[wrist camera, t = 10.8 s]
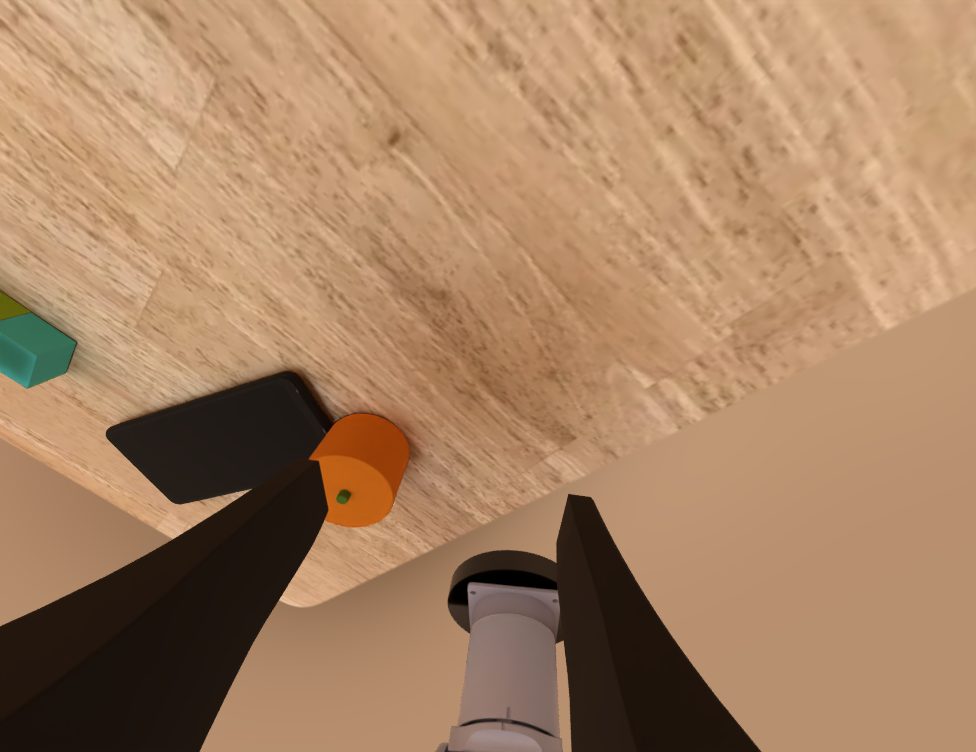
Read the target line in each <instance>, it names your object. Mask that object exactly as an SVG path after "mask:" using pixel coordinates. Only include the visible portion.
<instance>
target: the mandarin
mask: <svg viewBox="0 0 976 752" xmlns="http://www.w3.org/2000/svg"><path fill="white" fill-rule="evenodd" d="M409 455H410V451H409V445H408V442H407V440H406V438H405V436H404V435H403V433H402V432H401V431H400V430H399V429H398V428H397V427H396V426H395V425H394V424H392V423H391V422H389V421H388V420H386V419H384V418H381V417H379V416H375V415H370V414H354V415H349V416H346V417H344V418H342V419H340V420H339V421H337V422H336V423H335V424H334V425H333V426H332V428H331V429H330V430H329V432H328V433H327V435H326V436H325V437H324V439H323V440H322V441H321V443H320V444H319V445H318V447H317V448H316V450H315V451H314V452H313V454H312V455H311V456H310V458H309V459H310V460H317V461H319V464H320V469H321V474H322V479H323V484H324V489H325V494H326V499H327V504H328V509H329V511H328V513H327V515H326V518H325V520H326V521H328V522H330V523H333V524H336V525H340V526H345V527H365V526H369V525H372V524H375V523H377V522H379V521H381V520H382V519H383V518H385V517H386V516H387V515H388V513H389V512H390V510H391V508H392V506H393V503H394V500H395V497H396V495H397V492H398V489H399V486H400V483H401V480H402V477H403V475H404V472H405V469H406V466H407V463H408V460H409Z"/></svg>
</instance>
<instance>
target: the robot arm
mask: <svg viewBox="0 0 976 752" xmlns="http://www.w3.org/2000/svg"><path fill="white" fill-rule="evenodd" d="M328 511H329V509H328V504H327V499H326V494H325V489H324V484H323V479H322V474H321V469H320V464H319V461H317V460H310V459H302V458H298V459H297V460H295V461H293V462H292V463H290V464H289V465H287V466H286V467H284V468H283V469H281V470H280V471H278V472H277V473H275V474H274V475H272V476H271V477H269V478H268V479H266V480H265V481H263V482H262V483H261V484H259V485H258V486H256V487H255V488H253V489H252V490H250V491H249V492H247V493H246V494H244V495H243V496H241V497H240V498H238V499H237V500H235V501H233V502H232V503H230V504H229V505H227V506H226V507H224V508H223V509H221V510H220V511H218V512H217V513H215V514H213V515H212V516H210V517H209V518H207V519H205V520H204V521H202V522H200V523H199V524H197V525H196V526H194V527H192V528H191V529H189V530H187V531H186V532H184V533H183V534H181V535H179V536H178V537H176V538H174V539H173V540H171V541H169V542H168V543H166V544H164V545H162V546H161V547H159V548H157V549H155V550H154V551H152V552H150V553H148V554H147V555H145V556H143V557H141V558H139V559H137V560H135V561H134V562H132V563H130V564H128V565H126V566H125V567H122V568H121V569H119V570H117V571H115V572H113V573H111V574H109V575H107V576H106V577H103V578H102V579H99V580H97V581H95V582H93V583H91V584H89V585H87V586H85V587H83V588H81V589H79V590H77V591H75V592H73V593H71V594H69V595H67V596H65V597H62V598H60V599H59V600H56V601H54V602H52V603H50V604H48V605H46V606H44V607H42V608H40V609H38V610H35V611H33V612H31V613H29V614H27V615H24V616H22V617H20V618H18V619H15V620H13V621H11V622H9V623H6V624H4V625H2V626H0V752H200V750H201V747H202V745H203V743H204V741H205V739H206V736H207V734H208V732H209V730H210V728H211V726H212V724H213V722H214V720H215V718H216V716H217V714H218V712H219V710H220V707H221V705H222V703H223V701H224V699H225V697H226V695H227V693H228V691H229V689H230V687H231V685H232V683H233V681H234V679H235V677H236V675H237V673H238V671H239V669H240V667H241V665H242V663H243V661H244V660H245V657H246V656H247V654H248V651H249V650H250V648H251V646H252V644H253V642H254V641H255V639H256V637H257V635H258V634H259V632H260V630H261V628H262V627H263V625H264V623H265V621H266V620H267V618H268V617H269V615H270V614H271V612H272V610H273V609H274V607H275V605H276V604H277V602H278V601H279V599H280V597H281V596H282V594H283V593H284V591H285V589H286V588H287V586H288V585H289V583H290V581H291V580H292V578H293V576H294V575H295V573H296V572H297V570H298V568H299V567H300V565H301V563H302V562H303V560H304V559H305V557H306V555H307V554H308V552H309V550H310V549H311V547H312V545H313V543H314V541H315V539H316V537H317V535H318V533H319V531H320V529H321V527H322V524H323V522H324V520H325V518H326V515H327V513H328ZM556 546H557V586H558V590H554V589H544V588H534V587H524V586H513V585H503V584H493V583H483V582H469V583H468V588H467V589H468V603H469V618H470V632H471V633H470V640H469V647H468V654H467V662H466V669H465V676H464V683H463V690H462V697H461V705H460V713H459V719H458V726H452V727H451V732H450V739H449V743H441V744H440V745H439V747H438V748H437V750H436V751H435V752H563V751H562V739H561V738H560V730H559V712H558V711H559V709H558V690H557V668H556V647H555V645H556V638H557V630H558V623H559V615H560V613H561V622H562V630H563V639H564V647H565V656H566V665H567V673H568V683H569V684H568V685H569V697H570V722H571V745H572V746H571V747H572V752H761V751H760V750H759V748H758V747H757V746H756V745H755V743H754V742H753V741H752V740H751V738H750V737H749V736H748V735H747V734H746V732H745V731H744V730H743V729H742V727H741V726H740V725H739V724H738V723H737V721H736V720H735V719H734V718H733V717H732V715H731V714H730V713H729V712H728V710H727V709H726V708H725V707H724V705H723V704H722V703H721V702H720V701H719V699H718V698H717V697H716V695H715V694H714V693H713V692H712V690H711V689H710V688H709V687H708V685H707V684H706V682H705V681H704V680H703V678H702V677H701V676H700V674H699V673H698V672H697V670H696V669H695V668H694V667H693V665H692V664H691V662H690V661H689V659H688V658H687V657H686V655H685V654H684V653H683V651H682V650H681V648H680V647H679V646H678V644H677V643H676V641H675V640H674V639H673V637H672V636H671V634H670V633H669V632H668V630H667V628H666V627H665V625H664V624H663V622H662V621H661V619H660V618H659V616H658V615H657V613H656V612H655V610H654V609H653V607H652V606H651V604H650V602H649V601H648V599H647V598H646V596H645V595H644V593H643V591H642V590H641V588H640V586H639V585H638V583H637V581H636V580H635V578H634V576H633V574H632V573H631V571H630V569H629V568H628V566H627V564H626V562H625V561H624V559H623V557H622V556H621V554H620V552H619V550H618V548H617V546H616V545H615V543H614V541H613V539H612V537H611V535H610V533H609V531H608V529H607V527H606V525H605V523H604V522H603V519H602V517H601V515H600V513H599V511H598V509H597V507H596V505H595V503H594V501H593V499H592V498H591V497H585V496H579V495H571V494H568V498H567V502H566V506H565V510H564V514H563V518H562V522H561V527H560V530H559V535H558V538H557V545H556Z"/></svg>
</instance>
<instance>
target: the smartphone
mask: <svg viewBox="0 0 976 752" xmlns="http://www.w3.org/2000/svg"><path fill="white" fill-rule="evenodd" d="M331 428H332V424H331V423H330V421H329V420H328V418H327V417H326V415H325V414H324V412H323V411H322V409H321V408H320V406H319V405H318V403H317V402H316V400H315V399H314V397H313V396H312V394H311V393H310V391H309V390H308V388H307V387H306V385H305V384H304V382H303V381H302V379H301V378H300V376H299V375H297V374H296V373H294V372H291V371H285V372H281V373H278V374H274V375H271V376H268V377H265V378H262V379H259V380H255V381H252V382H249V383H246V384H243V385H240V386H236V387H233V388H230V389H227V390H224V391H221V392H217V393H214V394H211V395H208V396H205V397H202V398H198V399H195V400H192V401H189V402H186V403H183V404H180V405H176V406H173V407H170V408H167V409H164V410H161V411H157V412H154V413H151V414H148V415H145V416H142V417H138V418H135V419H132V420H129V421H126V422H123V423H120V424H117V425H114V426H112V427H110V428H109V429H108V430H107V431H106V437H107V439H108V440H109V441H110V442H111V443H112V444H113V445H114V446H115V447H116V448H117V449H118V450H119V451H120V452H121V453H122V454H123V455H124V456H125V457H126V458H127V459H128V460H129V461H130V462H131V463H132V464H133V465H134V466H135V467H136V468H137V469H138V470H139V471H140V472H141V473H142V474H143V475H144V476H145V477H146V478H147V479H148V480H149V481H151V482H152V483H153V484H154V485H155V486H156V487H157V488H158V489H159V490H160V491H161V492H162V493H163V494H164V495H165V496H166V497H167V498H168V499H169V500H170V501H171V502H173V503H175V504H185V503H190V502H194V501H199V500H203V499H208V498H212V497H217V496H221V495H226V494H231V493H235V492H240V491H244V490H249V489H253V488H255V487H256V486H258V485H259V484H261V483H262V482H263V481H265V480H266V479H268V478H269V477H271V476H272V475H274V474H275V473H277V472H278V471H280V470H281V469H283V468H284V467H286V466H287V465H289V464H290V463H292V462H293V461H295V460H297V459H298V458H302V459H309V458H310V456H311V455H312V454H313V452H314V451H315V450H316V448H317V447H318V445H319V444H320V443H321V441H322V440H323V439H324V437H325V436H326V435H327V433H328V432H329V430H330V429H331Z"/></svg>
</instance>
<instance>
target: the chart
mask: <svg viewBox="0 0 976 752" xmlns="http://www.w3.org/2000/svg"><path fill="white" fill-rule="evenodd" d="M75 345H76V342H75V341H73V340H72V339H70V338H69V337H67V336H66V335H64V334H63V333H61V332H60V331H58V330H57V329H55V328H54V327H52V326H51V325H49V324H48V323H46V322H45V321H43V320H42V319H40V318H39V317H37V316H36V315H34V314H33V313H31V311H29V310H28V309H26V308H25V307H23V306H22V305H20V304H19V303H17V302H16V301H14V300H13V299H11V298H10V297H8V296H7V295H5V294H4V293H2V292H1V291H0V372H1V373H3V374H4V375H6V376H8V377H9V378H11V379H13V380H14V381H16V382H17V383H19V384H21V385H22V386H24V387H26V388H27V389H28V388H30V387H33V386H35V385H38V384H40V383H43V382H45V381H48V380H50V379H53V378H55V377H57V376H60V375H62V374H65V373H66V370H67V367H68V365H69V362H70V359H71V356H72V353H73V351H74V348H75Z"/></svg>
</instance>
